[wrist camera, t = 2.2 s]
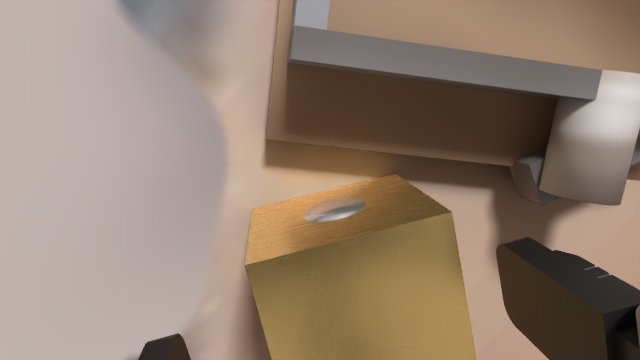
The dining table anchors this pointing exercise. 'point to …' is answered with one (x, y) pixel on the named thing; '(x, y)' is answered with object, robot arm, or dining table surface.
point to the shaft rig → (469, 86)
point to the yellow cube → (359, 276)
